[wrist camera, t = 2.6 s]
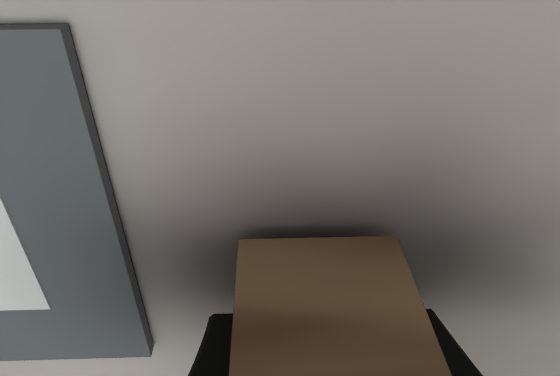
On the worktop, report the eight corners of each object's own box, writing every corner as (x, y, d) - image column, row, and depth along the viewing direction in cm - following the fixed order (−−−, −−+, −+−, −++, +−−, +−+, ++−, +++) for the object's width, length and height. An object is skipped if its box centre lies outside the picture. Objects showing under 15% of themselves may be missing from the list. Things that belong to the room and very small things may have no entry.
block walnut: (376, 335, 13) (428, 537, 9) (245, 339, 13) (237, 545, 9) (396, 235, 11) (478, 443, 7) (238, 239, 11) (223, 451, 7)
